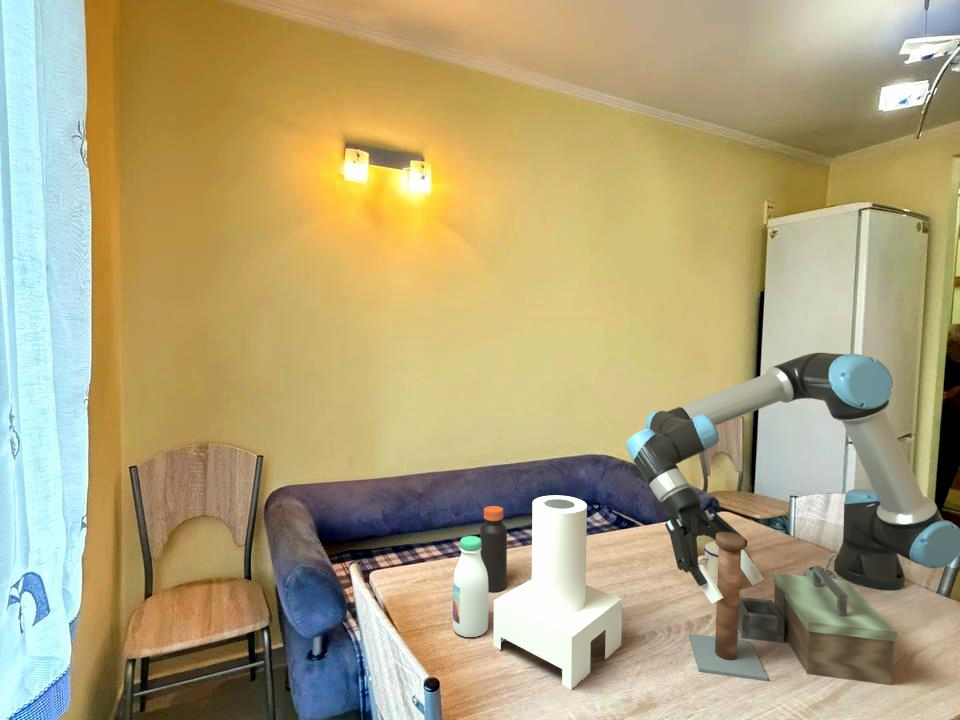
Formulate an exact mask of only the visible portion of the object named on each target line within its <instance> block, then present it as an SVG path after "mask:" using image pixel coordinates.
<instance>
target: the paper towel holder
mask: <svg viewBox="0 0 960 720" xmlns="http://www.w3.org/2000/svg"><path fill="white" fill-rule="evenodd" d="M587 505H588V504H587V503H586V502H585V501H583V500H582V499H579V498H576V497H572V496H570V495H569V496H568V495H556V494H555V495H545V496H544V495H543V496H540V497H537V498H535V499H534V500H533V501H532V513H531V514H532V521H531V522H532V527H531V528H532V531H531V534H532V535H531V541H532V542H531V543H532V544H531V546H532V547H531V579H530V580H528V581H526V582H524V583H522V584H521V585H519V586H517V587H515V588H514V589H512V590H510V591H508V592H507V593H504V594H503V595H501V596H500V597H497V598H496V599H494V600H493V647H494V646H495V647H497V648H499V649H500V650H501V651H502V649H501V648H502V647H501V646H502V645H501V644H502V642H501V641H502V640H503V639H506V640H505V641H507V642H510V643H512V644H514V645H515V646H517V647H520V648H521V649H523V650H524V651H527V652H529V653H530V654H533V655H534V656H536V657H538V658H540V659H542V660H544V661H546V662H548V663H550V664H552V665H554V666H555V667H558V669H559V668H560V669H561V674H562V675H561V686H562V685H564V686H566V687H568V688H569V689H568V688H567V689H568V690H570V689H571V690H570V691H572V690H573V689H574V688H576V687H577V686H578V685H577V684H578V683H579V682H580V681H581V680H582V681H583V680H584V679H585V678H586V677H588V676H589V675H590V674H591V653H592V652H591V651H592V650H591V648H592V647H591V644H592V641H593V640H594V639H596V638H597V637H599V636H600V635H601V634H602V633H603V632H604V631H605V642H604V643H605V647H604V649H605V651H604V660H607V659H608V658H610V656H611V655H612V654H613V653H615V651H617V650H618V649H619V648H620V647H621V646H622V621H623V619H622V618H623V616H622V615H623V598H622V597H620V596H617V595H614V594H611V593H609V592H606V591H603V590H601V589H598V588H595V587H593V586H590V585H588V584H587V583H586V582H587V581H586V580H587V578H586V577H587V574H586V573H587V526H588V525H587V523H588V522H587V520H588V517H587V515H588V514H587V513H588V512H587V510H588V506H587ZM589 673H590V674H589ZM588 674H589V675H588ZM587 675H588V676H587ZM582 681H581V682H582ZM581 682H580V683H581ZM580 683H579V684H580ZM564 686H563V687H564ZM566 687H565V688H566ZM573 687H574V688H573ZM572 688H573V689H572Z"/></svg>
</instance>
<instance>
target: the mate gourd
mask: <svg viewBox="0 0 960 720" xmlns="http://www.w3.org/2000/svg"><path fill="white" fill-rule="evenodd" d="M838 554H840V553H838V552H835V553H832V554H831V555H829V556H828V557H827V558H826V559H827V560H826V564H825V566H824V567H822V566H820V567H821V568H822V569H823V570H824V571H825V572H826V573H827V574H828V575H829V576H830V577H831V578H832V579H838V578H837V577H836V574H835V573H834V572H833V571H832V570H830V569H828V568H829V566H830V563H831V562H832V561H833V558H834V557H836V556H837V555H838ZM803 576H809V577H813V566H809V567H808V568H807V569H806V570H805V571H804V574H803Z"/></svg>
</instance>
